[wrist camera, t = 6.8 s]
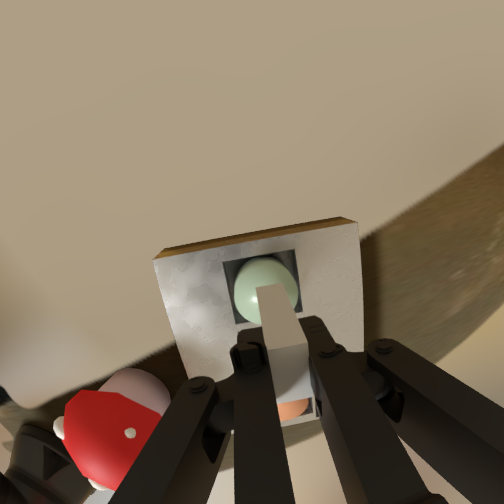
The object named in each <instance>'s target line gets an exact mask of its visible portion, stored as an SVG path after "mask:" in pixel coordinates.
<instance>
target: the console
mask: <svg viewBox="0 0 504 504" xmlns="http://www.w3.org/2000/svg"><path fill="white" fill-rule="evenodd" d="M257 257H271V258H274V259H277V260H279V261H280V262H282V263H283V264H284V265H285V266H286V267H287V269H288V270H289V272H290V274H291V275H292V277H293V279H294V280H295V282H296V285H297V288H298V300H297V303H296V306H295V308H294V311H295V314H296V316H297V318H303V317H308V316H313V315H315V316H317V317H319V318H321V319H322V320H323V322H324V324H325V325H326V327H327V329H328V330H329V332H330V334H331V336H332V337H333V339H334V341H335V342H336V343H338V344H341V345H343V346H344V347H345V348H346V350H347V351H349V352H364V314H363V286H362V268H361V254H360V242H359V232H358V223H357V222H355V221H352V220H349V219H346V218H343V217H335V218H329V219H323V220H317V221H311V222H305V223H300V224H294V225H288V226H283V227H277V228H271V229H266V230H260V231H255V232H249V233H244V234H239V235H233V236H227V237H222V238H217V239H211V240H207V241H202V242H196V243H191V244H186V245H180V246H175V247H171V248H165V249H163V250H162V251H161V252H160V253H159V254H158V255H157V256H156V257H155V258H154V259H152V261H153V265H154V268H155V273H156V277H157V280H158V284H159V287H160V291H161V295H162V298H163V301H164V305H165V309H166V312H167V315H168V318H169V322H170V325H171V328H172V331H173V334H174V338H175V341H176V344H177V347H178V350H179V353H180V356H181V358H182V361H183V364H184V367H185V370H186V373H187V375H188V378H189V379H190V378H193V377H196V376H207V377H210V378H212V379H214V381H215V382H218V381H221V380H223V379H226V378H228V377H229V376H231V375H232V374H233V373H234V369H233V365H232V361H231V357H230V353H229V352H230V349H231V348H232V347H233V346H234V345H235V344H237V335H238V334H239V332H240V331H241V330H243V329H249V328H255V327H261V326H262V325H259V324H255V323H252V322H250V321H248V320H247V319H245V318H244V317H243V316H242V315H241V314H240V313H239V311H238V309H237V307H236V305H235V300H234V282H235V277H236V275H237V272H238V271H239V269H240V268H241V267H242V266H243V265H244V264H245V263H246V262H248V261H249V260H251V259H254V258H257ZM312 393H313V390H312ZM315 419H319V417H316V410H315V396H314V393H313V397H310V398H308V406H307V408H306V409H305V411H304V412H303V413H302V414H301V415H299V416H297V417H296V418H293V419H291V420H286V421H280V423H281V427H282V426H287V425H293V424H297V423H302V422H307V421H311V420H315ZM231 434H234V430H232V431H231Z"/></svg>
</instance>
